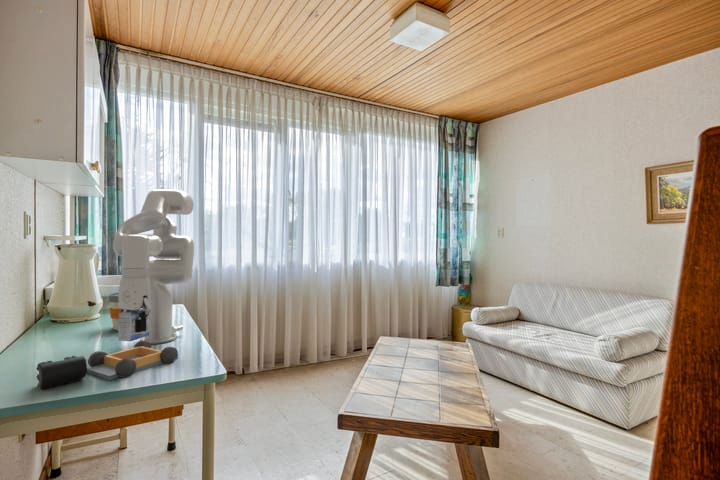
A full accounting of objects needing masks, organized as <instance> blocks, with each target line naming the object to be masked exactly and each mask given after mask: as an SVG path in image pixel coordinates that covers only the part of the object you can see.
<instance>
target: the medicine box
mask: <svg viewBox="0 0 720 480" xmlns="http://www.w3.org/2000/svg"><path fill="white" fill-rule="evenodd" d="M142 312H143V311H140V314H141V313H142ZM149 319H150V313H149V314H148V318H147V319H146V331H143V332H138V333H136V332H135V322H136V320H137V316H136V311H127V312H123V313H119V330H118V341H123V342H133V341H137V340H140V338H142V337H145V336H148V335H149Z"/></svg>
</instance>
